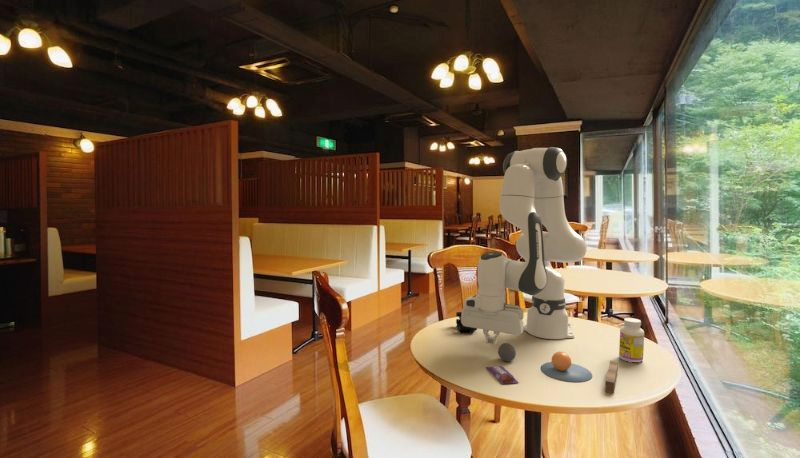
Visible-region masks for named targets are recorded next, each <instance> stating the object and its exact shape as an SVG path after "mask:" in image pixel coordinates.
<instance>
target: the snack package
mask: <svg viewBox="0 0 800 458" xmlns="http://www.w3.org/2000/svg"><path fill="white" fill-rule="evenodd" d="M485 368H486V369H487V370H488V371H489V372H490V373H491V374H492V375H493V376H494V377H495V378H496V379H497V380H498V381H499V382H500V383H501V385H508V384H509V385H510V384H519V383H520V382H519V381H518V380H517V379H516V377H514V375H513V374H511V373H510V372H509V371H508V370H507V369H506V368H505V367H504V366H503V365H497V366H486V367H485Z"/></svg>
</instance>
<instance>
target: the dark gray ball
mask: <svg viewBox="0 0 800 458" xmlns="http://www.w3.org/2000/svg"><path fill="white" fill-rule="evenodd" d="M497 354H498V356H499V358H500V360H502V361H504V362H511V361H513V360H514V359H515V358H516V356H517V350H516V348H515V346H514V345H513V344H511V343H508V342H507V343H506V342H505V343H502V344H501V345H499V346H498V350H497Z"/></svg>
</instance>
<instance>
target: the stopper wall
mask: <svg viewBox="0 0 800 458" xmlns="http://www.w3.org/2000/svg"><path fill="white" fill-rule="evenodd" d="M618 370H619V362H618V361H617V360H616V361H615V360H609V365H608V370H607V374H606V378H605V385H604V386H605V389H604V392H605V393H608V392H609V394H612V393H614V394H615V389H616V384H617V377H618V373H617V372H618Z"/></svg>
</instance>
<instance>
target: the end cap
mask: <svg viewBox="0 0 800 458" xmlns="http://www.w3.org/2000/svg"><path fill="white" fill-rule="evenodd" d="M455 314H456V317H458V319H457V318H456V319H455V320H456V321H455V323H456V325H455V326H456V328H457V330H458V333H459V334H469V335H470V334H473V333H474V332H476V331H477V330H478V328H472V327H466V326H463V325H462V323H461V315H462V311H456V313H455Z"/></svg>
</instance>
